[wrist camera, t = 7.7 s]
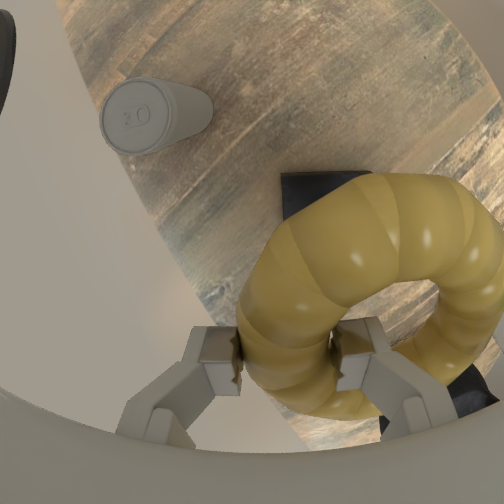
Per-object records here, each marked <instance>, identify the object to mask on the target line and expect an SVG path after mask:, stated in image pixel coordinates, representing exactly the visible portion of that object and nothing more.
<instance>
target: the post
mask: <svg viewBox="0 0 504 504" xmlns="http://www.w3.org/2000/svg"><path fill="white" fill-rule="evenodd" d="M370 173H373V172H371V171H325V172H300V173H281V186H282V202H283V219H284V221H285V220H286V219H288V218H289V217H291V216H293V215H294V214H296V213H297V212H299V211H301V210H302V209H304V208H306V207H307V206H309V205H311V204H312V203H314V202H315V201H317V200H319V199H320V198H322V197H324V196H325V195H327V194H329V193H330V192H332V191H334V190H335V189H337V188H338V187H340V186H342V185H343V184H345V183H347V182H348V181H350V180H352V179H354V178H356V177H358V176H362V175H365V174H370Z"/></svg>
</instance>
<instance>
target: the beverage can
mask: <svg viewBox="0 0 504 504" xmlns="http://www.w3.org/2000/svg"><path fill="white" fill-rule="evenodd" d="M213 108H214V107H213V104H212V101H211V99H210V98H209V96H208V95H207V94H206V93H204V92H203V91H201V90H199V89H196V88H192V87H189V86H186V85H183V84H180V83H176V82H172V81H168V80H163V79H159V78H154V77H146V76H142V77H136V78H132V79H128V80H125V81H123V82H121V83H119V84H118V85H117V86H116V87H114V88H113V89H112V90H111V91H110V93H109V94H108V95H107V97H106V98H105V100H104V102H103V105H102V107H101V112H100V129H101V132H102V136H103V137H104V139H105V141H106V143H107V144H108V145H109V146H110V147H111V148H112V149H113V150H114V151H116V152H118V153H120V154H122V155H126V156H145V155H148V154H151V153H154V152H157V151H159V150H161V149H163V148H165V147H168V146H170V145H172V144H174V143H176V142H178V141H180V140H183V139H185V138H188V137H190V136H193V135H195V134H198V133H199V132H201V131H202V130H204V129H205V128H206V127H207V126H208V125H209V123H210V122H211V120H212V117H213Z"/></svg>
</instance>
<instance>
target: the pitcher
mask: <svg viewBox="0 0 504 504" xmlns="http://www.w3.org/2000/svg"><path fill="white" fill-rule="evenodd" d="M447 389H448V392H449V394H450V397H451V399H452V402H453V405H454V407H455V410H456V413H457V415H458V418H459V419H460V418H462V417H465V416H467V415H470V414H472V413H474V412H477V411H479V410H481V409H484V408H486V407H488V406H490V405H492V404H494V403H497V402H499V401H500V400H499V399H498V398H496V397H495V396H494V395H492V394H491V393H490V391H489V390H488V387H487V385H486V382H485V380H484V378H483V377H482V375H481V373H480V372H479V370H478V369H477V368H476V367H475V366H474V364H473V363H472V364H471V365H470V366H469V367H468V368H467V369H466V370H465V371H464V372H462V373H461V374H460V375H459V376H458V377H457V378H456V379H455V380H454V381H453V382H451V383H450V384H449V385H448V386H447ZM379 423H380V431H381V435H382V434H383V432H384V431H385V429H386V428H387V426H388V425H389V423H390V421H389V420H388V419H387V418H386V417H385V416H384V415H382V416H379Z"/></svg>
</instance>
